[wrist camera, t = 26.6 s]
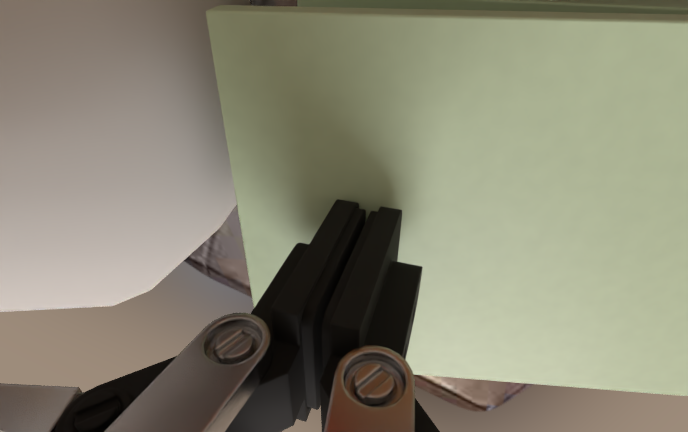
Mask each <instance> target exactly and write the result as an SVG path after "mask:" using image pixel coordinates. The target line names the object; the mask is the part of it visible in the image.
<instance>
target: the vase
mask: <svg viewBox="0 0 688 432" xmlns="http://www.w3.org/2000/svg"><path fill="white" fill-rule="evenodd" d="M219 5H241V6H252V5H251V3H250V1H249V0H0V312H3V311H4V312H6V311H23V310H43V309H61V308H81V307H100V306H114V305H116V304H118V303H121V302H123V301H126V300H128V299H131V298H133V297H135V296H138V295H140V294H143V293H145V292H148V291H150V290H151V289H152V288H153V287H154V286H156V285H157V284H158V283H159V282H160V281H161V280H162V279H163V278H165V277H166V276H167V274H169V273H170V272H171V271H172V270H174V269H175V268H176V267H177V266H178V265H179V264H180V263H181V262H182V261H184V260H185V259H186V258H187V257H188V256H189V255H190V254H191V253H192V252H194V251H195V250H196V249H197V248H198V247H199V246H200V245H201V244H202V243H204V242H205V241H206V240H207V239H208V238H209V237H210V236H211V235H212V234H214V233H215V232H216V231H217V230H218V229H219V228H220V227H221V225H222V224H223V223H224V221H225V220H226V218H227V217H228V216H229V214H230V213H231V211H232V210H233V209H234V207H235V206H236V204H237V201H236V195H235V189H234V183H233V177H232V171H231V165H230V159H229V152H228V146H227V140H226V134H225V128H224V122H223V116H222V110H221V103H220V97H219V91H218V85H217V79H216V73H215V67H214V61H213V55H212V48H211V42H210V36H209V30H208V24H207V18H206V11H207V10H209V9H212V8H214V7H216V6H219Z"/></svg>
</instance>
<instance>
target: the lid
mask: <svg viewBox="0 0 688 432" xmlns="http://www.w3.org/2000/svg"><path fill="white" fill-rule="evenodd" d="M206 18H207V24H208V30H209V36H210V42H211V48H212V55H213V61H214V67H215V73H216V79H217V85H218V91H219V97H220V103H221V110H222V116H223V122H224V128H225V134H226V140H227V146H228V152H229V159H230V165H231V171H232V177H233V183H234V189H235V195H236V201H237V207H238V214H239V220H240V226H241V232H242V238H243V244H244V250H245V256H246V262H247V269H248V275H249V281H250V287H251V293H252V299H253V305H254V308H255V306H256V305H257V303H258V302H259V300H260V299H261V297H262V295H263V294H264V292H265V291H266V289H267V288H268V286H269V285H270V283H271V282H272V280H273V279H274V277H275V275H276V274H277V272H278V271H279V269H280V268H281V266H282V265H283V263H284V262H285V260H286V259H287V257H288V255H289V254H290V252H291V251H292V249H293V248H294V246H295V245H296V244H297V243H305V244H310V242H311V241H312V239H313V237H314V236H315V234H316V232H317V231H318V229H319V227H320V226H321V224H322V222H323V221H324V219H325V218H326V216H327V214H328V213H329V211H330V209H331V208H332V206H333V204H334V203H335V201H336V200H337V199H339V200H345V201H351V202H357V203H359V209H365V210H366V220H367V218H368V216H369V214H370V212H371V211H377V212H378V210H379V208H380V207H381V206H382V207H388V208H394V209H400V210H402V221H401V231H400V240H399V250H398V260H397V262H402V263H407V264H412V265H417V266H422V267H423V268H422V276H421V282H420V289H419V295H418V301H417V307H416V312H415V317H414V322H413V327H412V332H411V336H410V341H409V346H408V350H407V355H406V361H407V362H408V364H409V366H410V368H411V369H412V371H413V374H416V375H428V376H441V377H453V378H466V379H479V380H491V381H504V382H516V383H529V384H542V385H555V386H567V387H580V388H594V389H605V390H618V391H630V392H643V393H655V394H669V395H681V396H688V15H683V14H634V13H585V12H536V11H487V10H438V9H389V8H340V7H291V6H241V5H219V6H216V7H214V8H212V9H209V10H207V11H206Z"/></svg>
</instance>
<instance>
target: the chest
mask: <svg viewBox="0 0 688 432" xmlns="http://www.w3.org/2000/svg"><path fill="white" fill-rule="evenodd" d="M297 7H340V8H389V9H438V10H487V11H536V12H585V13H634V14H683V15H688V0H297Z"/></svg>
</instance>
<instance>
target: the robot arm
mask: <svg viewBox="0 0 688 432" xmlns="http://www.w3.org/2000/svg"><path fill="white" fill-rule="evenodd" d="M401 221H402V210H400V209H394V208H388V207H382V206H381V207H380V208H379V210H378V212H377V211H371V212H370V214H369V216H368V218H367V220H366V210H365V209H359V203H357V202H351V201H345V200H339V199H337V200H336V201H335V203H334V204H333V206H332V208H331V209H330V211H329V213H328V214H327V216H326V218H325V219H324V221H323V222H322V224H321V226H320V227H319V229H318V231H317V232H316V234H315V236H314V237H313V239H312V241H311V242H310V244H305V243H297V244H296V245H295V246H294V248H293V249H292V251H291V252H290V254H289V255H288V257H287V259H286V260H285V262H284V263H283V265H282V266H281V268H280V269H279V271H278V272H277V274H276V275H275V277H274V279H273V280H272V282H271V283H270V285H269V286H268V288H267V289H266V291H265V292H264V294H263V295H262V297H261V299H260V300H259V302H258V303H257V305H256V306H255V308H254V309H253V311H252V313H251V314H248V313H233V314H229V315H225V316H222V317H220V318H218V319H216V320H214V321H212V322H211V323H210V324H209V325H207V326H206V327H205V328H204V329H203V330H202V331H201V332H200V333H199V334H198V335H197V336H196V337H195V338H194V339H193V340H192V341H191V342H190V343H189V344H188V346H187V347H186V348H185V349H184V350H183V351H182V352H181V353H180V354H179V355H178V356H176V357H173V358H171V359H168V360H166V361H163V362H160V363H157V364H155V365H152V366H149V367H147V368H144V369H142V370H139V371H136V372H133V373H131V374H128V375H125V376H123V377H120V378H118V379H115V380H112V381H109V382H107V383H104V384H101V385H99V386H97V387H95V388H93V389H91V390H89V391H86V392H85V393H84V392H83V393H82V392H81V390H80V388H79V387H60V386H41V385H21V384H20V385H19V384H1V383H0V432H282V431H283V430H284V429H287V428H289V427H291V426H293V425H294V423H295V420H296V419H299V420H302V421H306V420H307V418H308V415H309V413H310V410H311V408H314V409H319V407H320V405H321V420H322V432H440V431H439V430H438V429H437V427H436V426H435V425H434V423H433V422H432V421H431V419H430V418H429V417H428V415H427V414H426V412H425V411H424V410H423V408H422V407H421V406H420V404H419V403H418V401H417V400H416V399H415V381H414V376H413V371H412V369H411V368H410V366H409V364H408V362H407V361H406V355H407V350H408V346H409V341H410V336H411V332H412V327H413V322H414V317H415V312H416V307H417V301H418V295H419V289H420V282H421V276H422V268H423V267H422V266H417V265H412V264H407V263H402V262H397V260H398V250H399V240H400V231H401Z"/></svg>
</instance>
